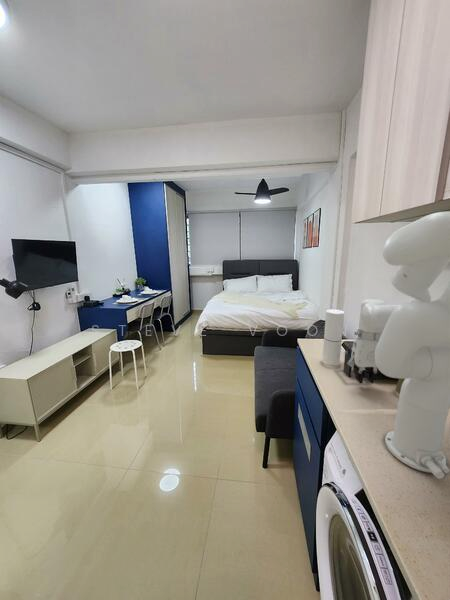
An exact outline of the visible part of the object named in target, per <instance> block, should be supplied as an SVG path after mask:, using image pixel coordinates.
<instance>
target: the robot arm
mask: <svg viewBox="0 0 450 600" xmlns="http://www.w3.org/2000/svg"><path fill="white" fill-rule="evenodd" d="M383 245H384V246H383V250H382V256H383V259H384V261H385V263H386V264H388V265H391V266H396V269H395V271H394V273H392V276H391V279H390V280H391V284H392V286H393V287H394V289H396V290H397V291H399V292H400V293H401V294H404V295H406V296H408V297H410V298H409V300H408V301H407V302H405V303H402V304H387V303H386V302H385V301H384V300H381V299H376V298H366V299H363V300H362V301H361V303H360V310H359V311H360V312H359V321H358V328H357V331H354V336H355V338H354V341H353V343H352V347H351V348H352V354H351V359H350V360H349V361H348V363H347V364H348V365H349V366H351V367H352V368H354V369H355V370H356V374H355V380H356V381H357V382H358V383H359V384H363V381H364V378H363V373H362V371H363V367H364V368H369V369H368V371H369V372H370V377H369V378H368V379H366V380H367V381H368V382H369V383H370V384H374V383H375V380H376V374H378V371H379V372H380V373H381V374H383V375H384V376H386V377H389V378H393V379H399V378H403V379H405V380H404V381H403V384H402V386H401V391H400V394H399V397H398V403H397V408H396V415H395V421H394V427H393V430H390V431H388V432H387V433H386V435H385V439H384V442H385V446H386V448H387V450H388V451H389V452H390V453H391V455H392V456H394V457H395V458H396V459H397V460H399V461H400V462H401V463H403V464H405V465H406V466H408V467H410V468H412V469H415V470H417V471H421V472H425V473H431V474H432V475H433V476H434V477H435V478H436V479H437V480H441V479H443V478H444V477H445V474H448V473H450V468H449V467H448V466H447V458H446V456H445V454H444V452H443V451H442V450H441V447H442V442H443V438H444V432H445V428H446V424H447V419H448V415H449V411H450V282H449V283H448V284H447V286H446V289H445V291H444V292H443V293H442V295H441V296H440V297H439V298H438V299H435V300H432V296H431V293H430V291H429V288H431V286H432V285H433V284H434V282H435V281H436V280H437V279H438V277H439V276H440V275H441V274H442V272H443V271H444V270H445V268H446V267H447V266H448V265H449V264H450V210H449V211H438V212H433V213H430V214H427V215H425V216H422V217H420V218H419V219H416V220H415V221H412V222H411V223H408V224H406V225H403V226H402V227H399V228H397V230H395V231H394V232H392V233H391V235H390V236H389V237H388V238H387V240H386V241H385V244H383ZM397 266H398V267H397ZM354 362H355V364H356V365H355V364H354Z"/></svg>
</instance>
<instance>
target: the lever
mask: <svg viewBox="0 0 450 600" xmlns="http://www.w3.org/2000/svg"><path fill="white" fill-rule="evenodd" d="M350 348H351V349H352V348H353V347H350ZM362 373H363V380H367V379H368V378H369V377H370V372H369V371H368V370H367V369H366V367H363V371H362Z"/></svg>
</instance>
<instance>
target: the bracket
mask: <svg viewBox="0 0 450 600" xmlns="http://www.w3.org/2000/svg"><path fill="white" fill-rule="evenodd" d="M351 348H352V347H350V346H348V345H346V346H345V351H344V362H343V370H342V371H343V373H344V374H345V375H346V376H347V378H351V377H352V372H353V373H354V374H355V375H356V370H355V369H354V368H353V367H351V366H349V365H348V364H347V363H348V361H349V360H350V359H351V354H352V349H351ZM354 364H355V362H354ZM355 365H356V364H355ZM352 368H353V369H352Z"/></svg>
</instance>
